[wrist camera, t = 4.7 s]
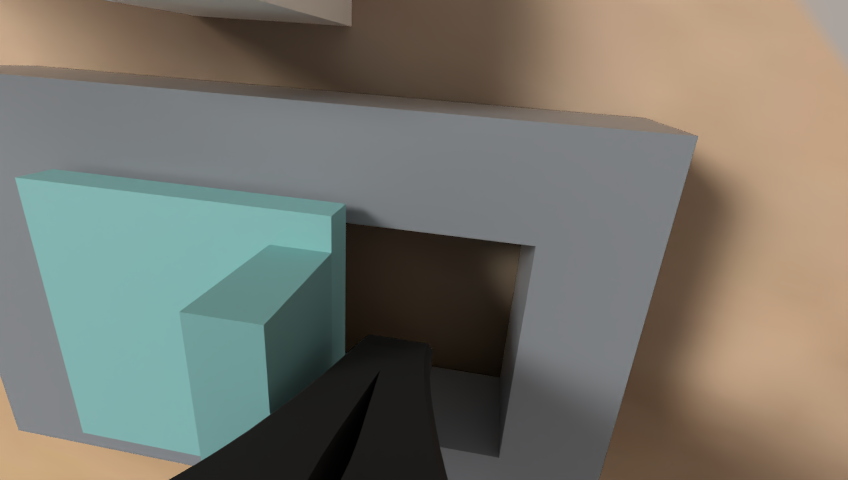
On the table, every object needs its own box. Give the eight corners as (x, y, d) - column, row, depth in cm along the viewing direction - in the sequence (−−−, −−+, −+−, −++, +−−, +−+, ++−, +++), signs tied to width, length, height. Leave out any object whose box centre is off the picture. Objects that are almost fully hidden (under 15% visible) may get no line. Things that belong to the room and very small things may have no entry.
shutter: (344, 455, 11) (283, 603, 8) (109, 410, 12) (-28, 528, 9) (345, 204, 9) (259, 277, 6) (52, 169, 9) (-161, 216, 6)
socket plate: (565, 450, 14) (580, 544, 11) (102, 367, 16) (18, 429, 13) (645, 118, 10) (698, 136, 7) (32, 65, 12) (-103, 65, 10)
